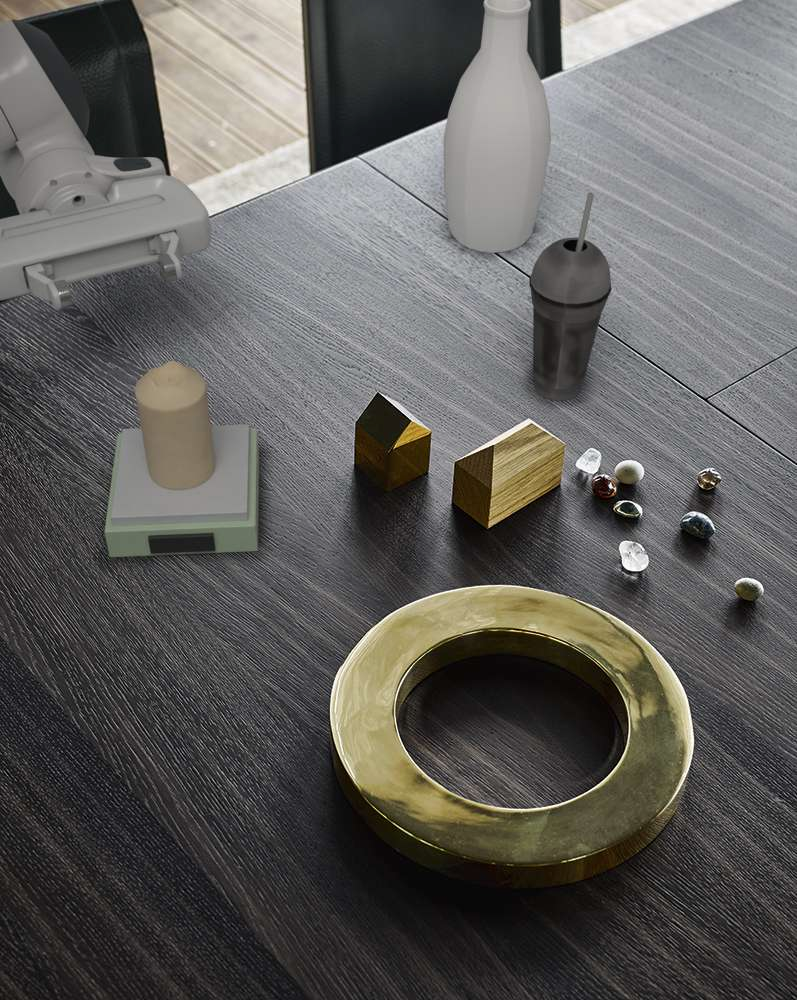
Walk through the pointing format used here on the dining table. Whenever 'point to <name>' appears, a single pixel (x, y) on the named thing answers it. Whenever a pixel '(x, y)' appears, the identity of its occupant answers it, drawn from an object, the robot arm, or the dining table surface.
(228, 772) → the dining table surface
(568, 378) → the beverage cup
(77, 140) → the robot arm
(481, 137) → the bottle
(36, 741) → the dining table surface
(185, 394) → the candle
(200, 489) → the scale
